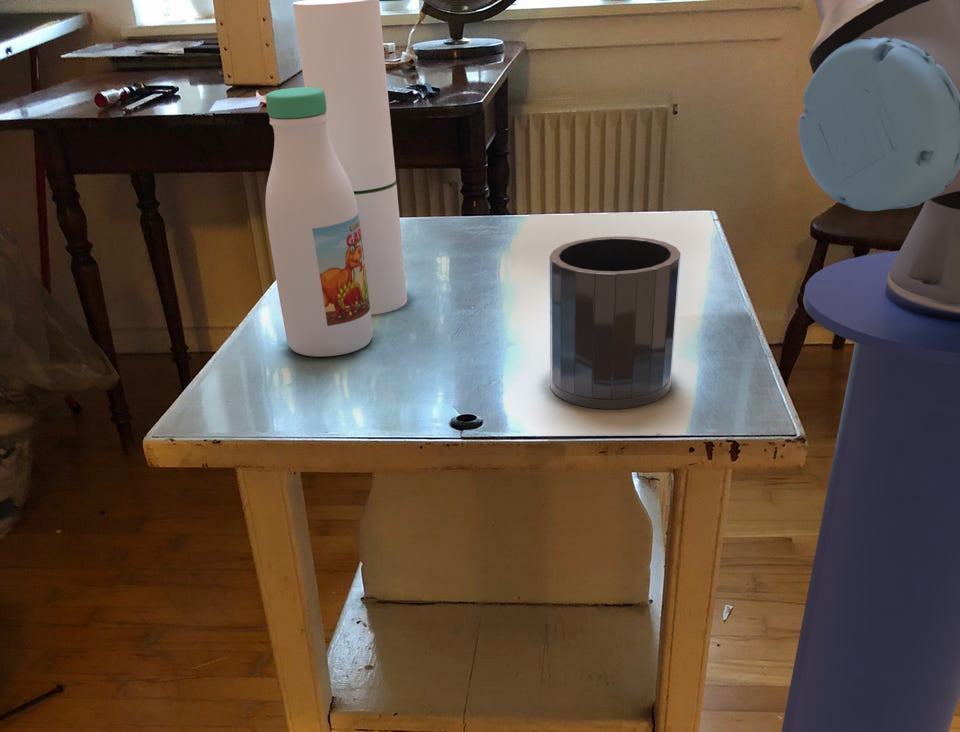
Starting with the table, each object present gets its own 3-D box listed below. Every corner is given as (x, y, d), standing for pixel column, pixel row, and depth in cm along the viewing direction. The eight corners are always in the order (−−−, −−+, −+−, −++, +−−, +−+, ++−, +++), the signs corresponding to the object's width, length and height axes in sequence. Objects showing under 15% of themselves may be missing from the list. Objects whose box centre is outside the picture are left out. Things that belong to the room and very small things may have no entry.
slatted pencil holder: (675, 364, 80) (685, 237, 74) (664, 412, 73) (673, 275, 66) (562, 359, 82) (562, 235, 76) (540, 405, 75) (538, 272, 69)
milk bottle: (299, 365, 84) (255, 102, 71) (279, 337, 89) (235, 89, 77) (384, 349, 86) (356, 91, 74) (360, 322, 91) (329, 79, 79)
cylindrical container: (381, 286, 100) (350, -5, 85) (421, 302, 95) (395, -3, 80) (321, 302, 97) (277, 3, 81) (359, 320, 92) (320, 5, 77)
